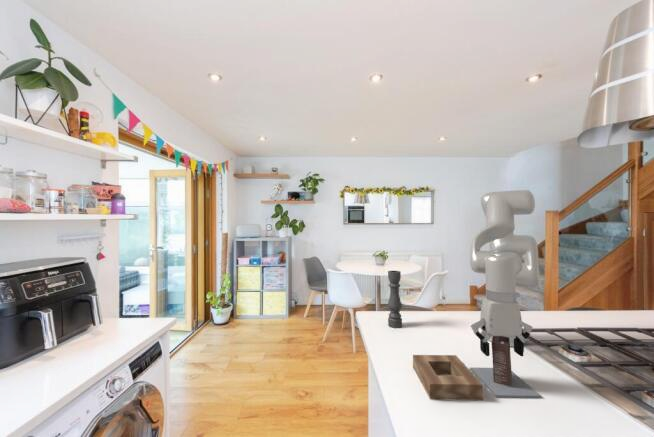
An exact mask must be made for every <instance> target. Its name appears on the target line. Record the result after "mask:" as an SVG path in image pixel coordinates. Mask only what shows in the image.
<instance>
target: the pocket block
mask: <svg viewBox="0 0 654 437" xmlns="http://www.w3.org/2000/svg"><path fill="white" fill-rule="evenodd" d="M412 368H413V370H414V373H415V374H416V375H417V378H418V379H419V382H420V383H421V385H422V387H423V388H424V390H425V393H426V394H427V396H428V397H429V398H428V399H429V400H462V401H463V400H465V401H466V400H467V401H468V400H470V401H471V400H473V401H476V400H477V401H478V400H479V401H482V400H483V401H484V388H483V387H484V386H483V385H484V384H483V383H482V382H481V381H480V380H479V378H478V377H477V376H476V375H475V374H474V373H473V372H472V371H471V370H470V368H468V367H467V366H466V364H465V363H464V362H463V361H462V360H461V359H460V358H459V357H458V356H457V355H456V354H449V355H448V354H412Z"/></svg>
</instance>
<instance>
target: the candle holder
mask: <svg viewBox="0 0 654 437" xmlns="http://www.w3.org/2000/svg"><path fill="white" fill-rule="evenodd" d="M387 273H388V274H387V279H388V281H389V284H388V287H389V291H390V295H389V299H388V304H387V308H388V309H389V313H388V317H387V325H388V327H389V328H393V329H401V328H402V327H403V318H402V314H401V313H400V312H401V309H402V307H403V306H402V305H403V304H402V302H401V297H400V287H401V284H400V281H401V278H402V277H401V275H402V274H401V271H399V270H388V271H387Z"/></svg>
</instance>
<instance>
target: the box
mask: <svg viewBox="0 0 654 437" xmlns="http://www.w3.org/2000/svg"><path fill="white" fill-rule="evenodd" d="M491 355H492V368H493V377H494V382H495V383H499V384H502V385H505V386H509V387H510V386H511V381H512V372H513V371H512V361H511V360H512V359H511V347H510V340H509V337H504V336H493V338H492V342H491ZM511 371H512V372H511Z"/></svg>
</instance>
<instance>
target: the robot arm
mask: <svg viewBox="0 0 654 437" xmlns="http://www.w3.org/2000/svg"><path fill="white" fill-rule="evenodd" d="M535 201H536V200H535V196H534V194H533V193H532V192H531V191H530V190H529V189H520V190H502V191H501V190H500V191H491V192H486V193H484V194H483V195H482V196H481V197H480V204H481V206H480V207H481V209H482V211H483V214H484V216H485V218H486V220H485V226H484V227H483V228H481V230H480V231H479V232H477V233H476V235H475V236H474V237H473V238H472V241H471V245H470V256H469V265H470V268H471V270H472V271H473V272H475V273H477V274H485V298H483V299H482V302H481V308H480V317H479V320H478V321H476V322H475V323H472V324H471V325H470V328H471V330H472V332H473V334H474V335H475V336H476V337H477V338H478V339H479V343H480V347H479V349H480V351H481V353H482V354H483V355H485V357H490V343H489V342H491V343H492V338H493V336H504V337H509V340H510V348H511V347H512V348H513V352H514V353H515V354H517V355H518V356H520V357H524V353H525V346H524V345H525V343H526V342H527V339H528V338H531V336H532V335H531V333H532V330H533V328H534V327H533V326H532V325H530V324H528V323H526V322H524V321H523V320H522V313H521V309H520V304H519V302H518V298H519V297H520V293H519V292H517V289H516V287H518V288H519V287H520V288H529V289H533V288H537V287H538V286H539V283H540V265H539V262H540V261H539V250H538V244H537V240H536V238H534V237H533V236H531V235H526V234H514V231H515V226H516V225H515V224H516V223H515V215H516V216H520V215H521V216H522V215H532V214H533V212H534V211H535V208H536V202H535ZM488 243H489V245H488V246H489V247H488V248H489V250H481V249H482V247H483V246H485V245H486V244H488ZM479 329H480V330H481V332H480V330H479ZM529 336H530V337H529ZM488 341H489V342H488Z"/></svg>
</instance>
